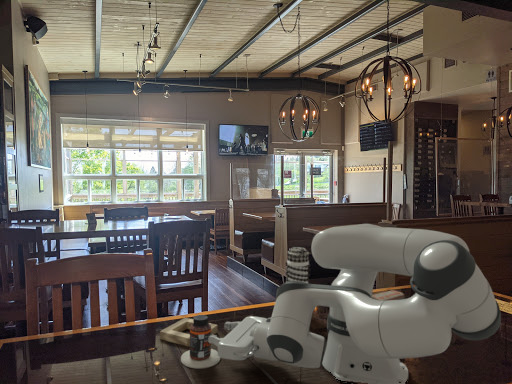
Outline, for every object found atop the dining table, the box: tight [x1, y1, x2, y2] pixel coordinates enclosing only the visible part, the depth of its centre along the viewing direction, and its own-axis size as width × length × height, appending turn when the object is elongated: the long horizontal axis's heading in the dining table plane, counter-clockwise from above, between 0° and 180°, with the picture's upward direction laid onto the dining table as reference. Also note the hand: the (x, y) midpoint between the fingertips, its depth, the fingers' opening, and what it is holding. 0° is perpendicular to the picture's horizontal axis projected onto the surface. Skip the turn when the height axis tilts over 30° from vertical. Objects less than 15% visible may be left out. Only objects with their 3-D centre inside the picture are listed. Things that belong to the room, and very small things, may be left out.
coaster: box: [180, 348, 221, 370], centre depth 110 cm, size 11×11×1 cm
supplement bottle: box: [189, 314, 212, 361], centre depth 110 cm, size 6×6×11 cm
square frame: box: [159, 317, 218, 348], centre depth 125 cm, size 13×13×2 cm
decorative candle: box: [284, 246, 311, 284], centre depth 145 cm, size 9×9×25 cm
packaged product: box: [372, 289, 406, 301], centre depth 158 cm, size 18×5×10 cm
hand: (217, 331), depth 108 cm, fingers open, 8 cm apart
